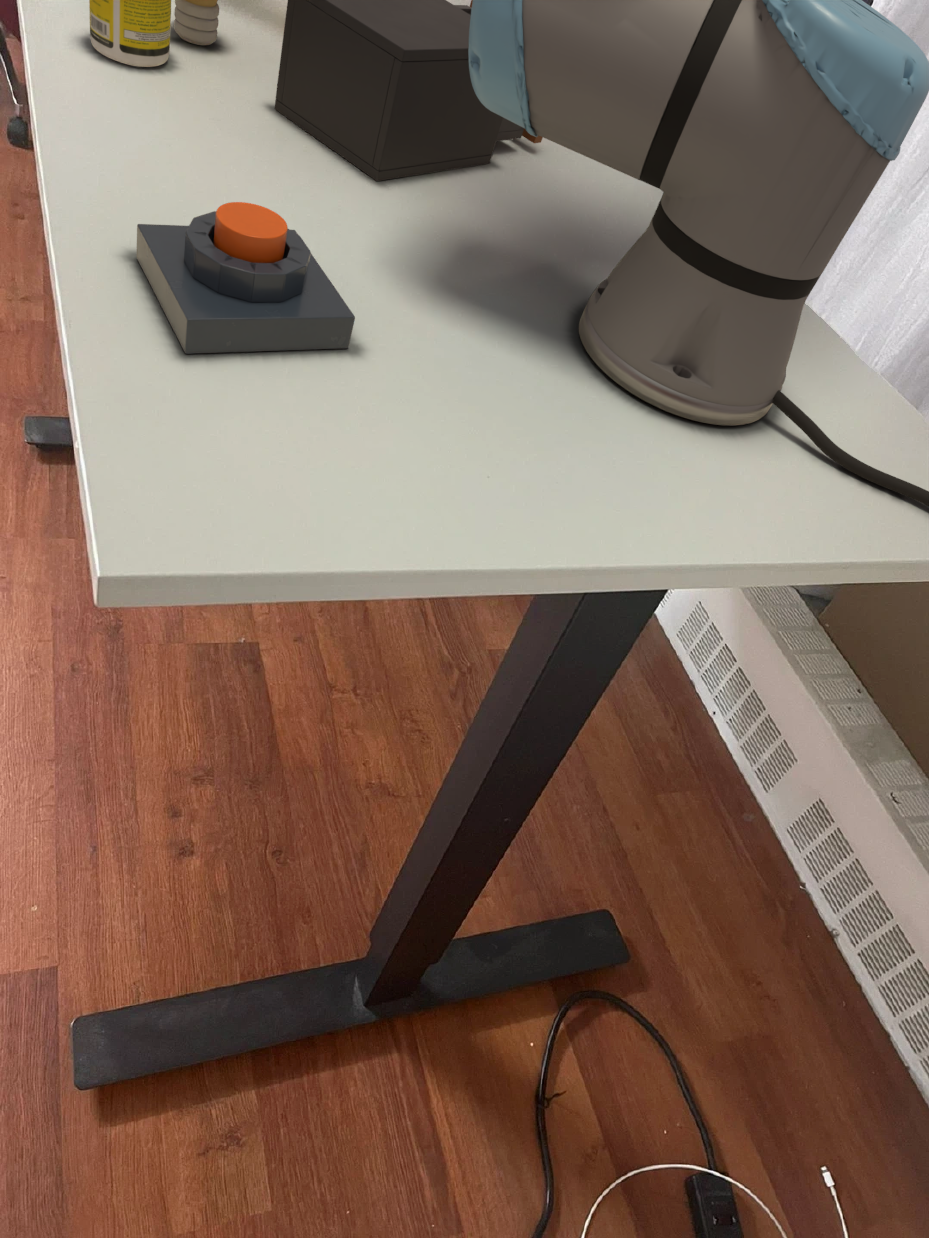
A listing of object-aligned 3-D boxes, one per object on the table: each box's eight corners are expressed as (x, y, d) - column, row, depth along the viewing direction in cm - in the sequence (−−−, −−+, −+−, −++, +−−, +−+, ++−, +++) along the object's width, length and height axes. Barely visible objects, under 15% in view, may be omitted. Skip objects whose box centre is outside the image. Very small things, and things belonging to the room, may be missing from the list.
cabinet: (393, 99, 85) (418, -17, 78) (489, 163, 81) (524, 47, 75) (274, 109, 76) (290, -23, 69) (376, 181, 72) (404, 50, 65)
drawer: (464, 88, 90) (487, 0, 85) (548, 142, 87) (578, 53, 82) (359, 95, 81) (378, -4, 75) (449, 156, 78) (475, 57, 72)
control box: (348, 348, 55) (362, 289, 52) (185, 354, 50) (189, 289, 47) (290, 260, 60) (299, 202, 57) (135, 258, 55) (137, 193, 52)
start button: (293, 267, 52) (298, 239, 51) (226, 266, 50) (229, 236, 49) (269, 231, 54) (273, 203, 53) (204, 229, 52) (206, 199, 51)
